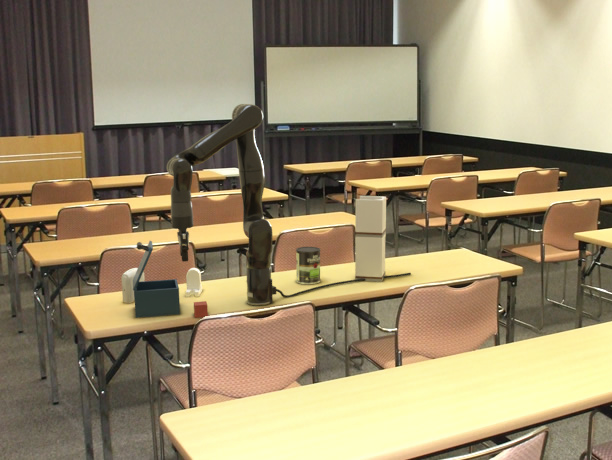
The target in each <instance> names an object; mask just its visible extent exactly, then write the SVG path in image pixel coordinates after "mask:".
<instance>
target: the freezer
mask: <svg viewBox="0 0 612 460" xmlns="http://www.w3.org/2000/svg"><path fill="white" fill-rule="evenodd" d="M180 303H181V302H180V287H179V283H178V279H177V278H173V279H171V278H170V279H161V280H160V279H155V280H145V281H142V282H139V283H138V285H137V287H136V290H135V291H134V314H135V316H134V317H135V319H141V318H153V317H163V316H164V317H165V316H177V315H181V306H180V305H181V304H180Z"/></svg>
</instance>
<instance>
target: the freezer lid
mask: <svg viewBox="0 0 612 460" xmlns="http://www.w3.org/2000/svg"><path fill="white" fill-rule="evenodd" d="M136 249H137V250H138V251H141V250H143V251H144V253H143V255H142V257H141V260H140V262H139V265H138V267H137V268H138V269H137V271H136V274H135V276H134V278H133V290H134V291H135V290H136V287H137V285H138V283H139V280H140V278H141V276H142V273H143V271H145V269H146V267H147V264H148V261H149V260H150V257H151V255H152V253H153V250H154V246H153V241H152V240H149V242H148V243H147V245H144V244H143V243H142V242H140V241H138V242H137V243H136Z"/></svg>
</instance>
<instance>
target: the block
mask: <svg viewBox="0 0 612 460" xmlns="http://www.w3.org/2000/svg"><path fill="white" fill-rule="evenodd" d="M208 309H209V308H208V303H207V301H206V300H204V301H203V300H202V301H194V302H193V314H194V315H193V316H194V318H205V317H204V316H208V317H209V313H208V312H209V310H208Z"/></svg>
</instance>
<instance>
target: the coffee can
mask: <svg viewBox="0 0 612 460" xmlns="http://www.w3.org/2000/svg"><path fill="white" fill-rule="evenodd" d="M295 259H296V260H295V262H296V269H295V270H296V281H295V282H296V283H297V284H301V285H315V284H319V283H321V248H320V247H317V246H301V247H297V248H296V249H295Z"/></svg>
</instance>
